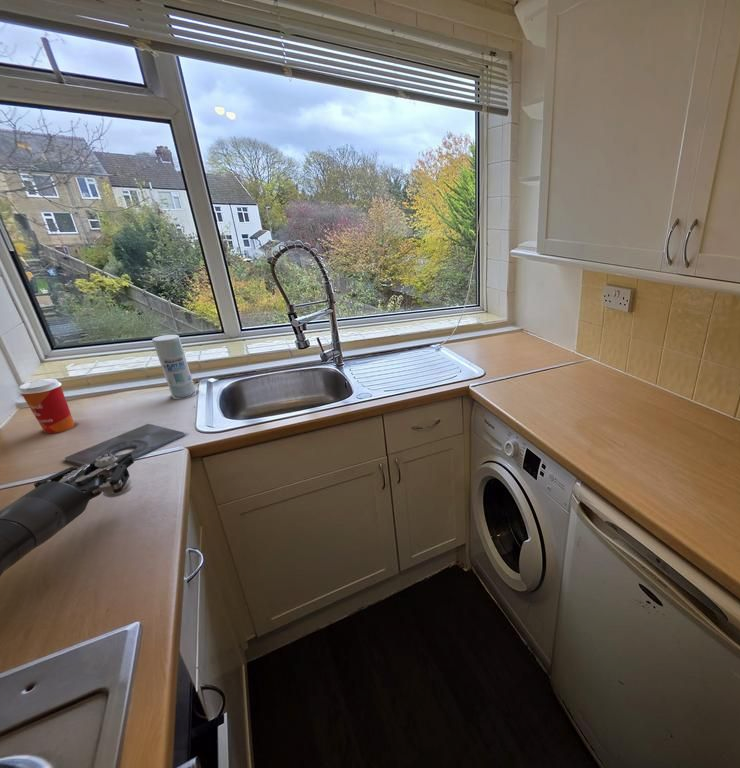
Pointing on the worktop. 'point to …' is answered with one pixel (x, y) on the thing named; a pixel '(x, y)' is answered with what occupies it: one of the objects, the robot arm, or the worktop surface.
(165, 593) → the worktop surface
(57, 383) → the paper cup
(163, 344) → the spray can
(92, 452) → the plate
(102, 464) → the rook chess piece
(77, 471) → the robot arm
